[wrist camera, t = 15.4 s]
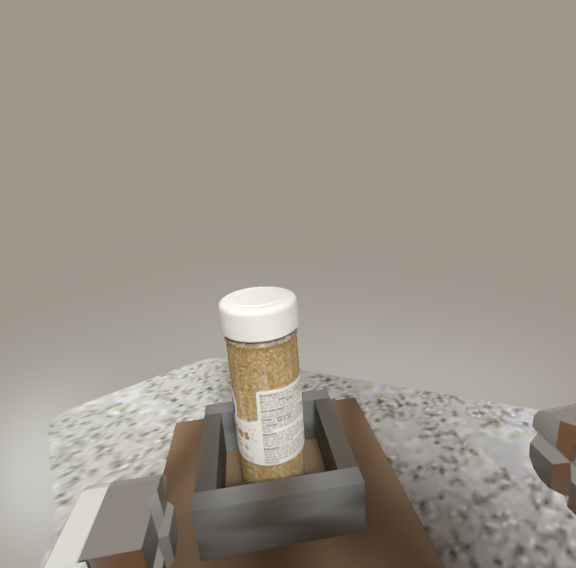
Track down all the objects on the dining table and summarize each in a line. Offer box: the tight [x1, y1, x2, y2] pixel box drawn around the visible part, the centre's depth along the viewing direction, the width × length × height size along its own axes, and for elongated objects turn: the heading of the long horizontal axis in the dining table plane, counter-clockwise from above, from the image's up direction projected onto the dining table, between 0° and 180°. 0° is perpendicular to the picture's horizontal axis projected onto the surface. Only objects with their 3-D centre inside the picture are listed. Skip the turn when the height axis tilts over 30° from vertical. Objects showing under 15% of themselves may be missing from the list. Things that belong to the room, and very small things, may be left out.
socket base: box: [163, 389, 444, 568], centre depth 25 cm, size 16×16×5 cm
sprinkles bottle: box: [219, 287, 308, 485], centre depth 23 cm, size 5×5×14 cm
